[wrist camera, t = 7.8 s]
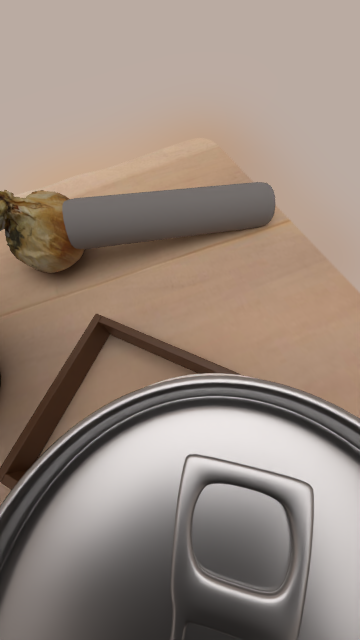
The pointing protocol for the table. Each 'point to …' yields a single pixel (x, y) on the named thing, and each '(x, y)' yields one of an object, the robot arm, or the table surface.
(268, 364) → the table surface
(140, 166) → the table surface
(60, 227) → the onion
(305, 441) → the can
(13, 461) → the square frame
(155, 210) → the tv remote
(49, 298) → the table surface
